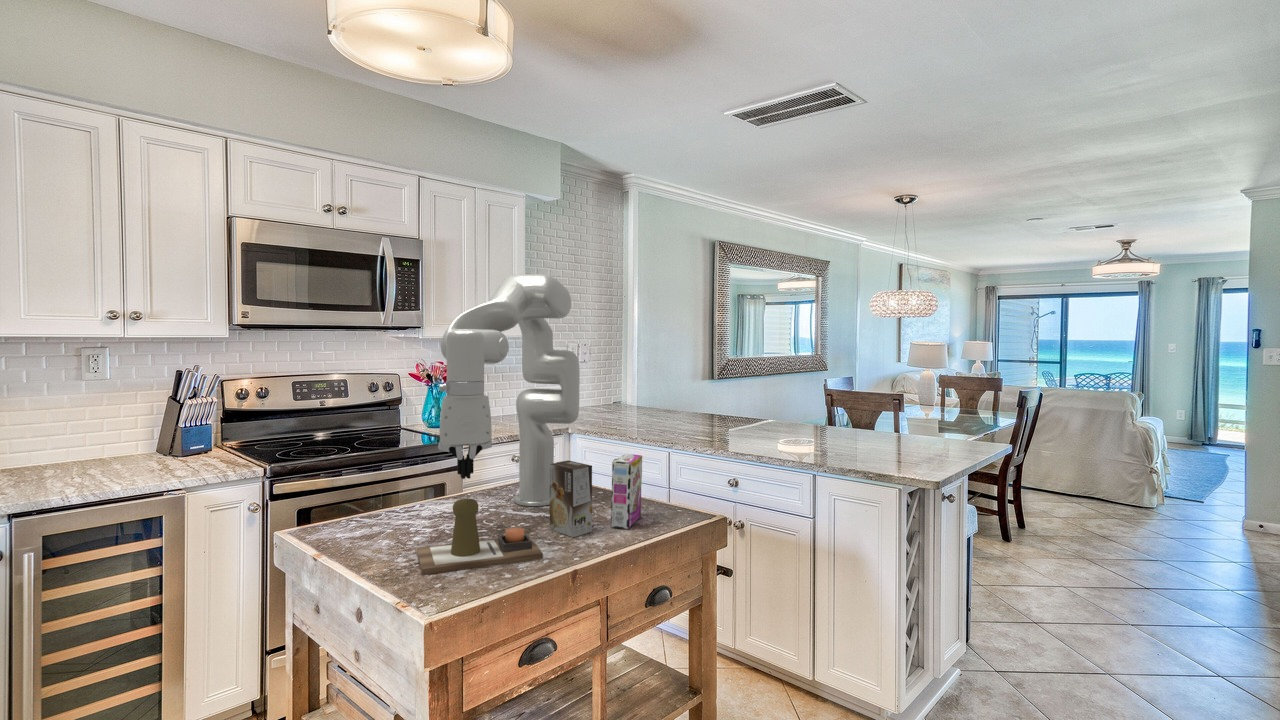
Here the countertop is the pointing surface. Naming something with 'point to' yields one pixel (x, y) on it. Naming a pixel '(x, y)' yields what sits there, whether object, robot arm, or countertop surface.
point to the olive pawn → (465, 528)
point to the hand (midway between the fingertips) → (465, 477)
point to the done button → (514, 534)
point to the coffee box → (571, 498)
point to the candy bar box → (626, 491)
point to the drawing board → (477, 555)
